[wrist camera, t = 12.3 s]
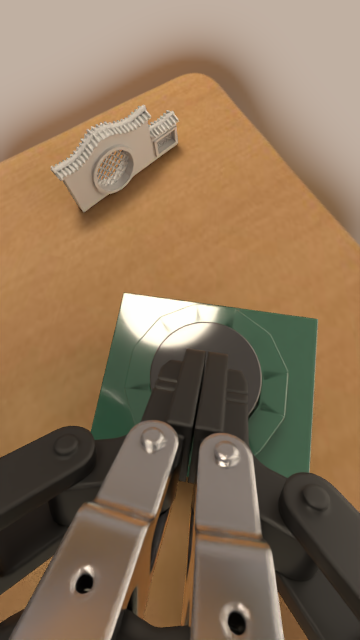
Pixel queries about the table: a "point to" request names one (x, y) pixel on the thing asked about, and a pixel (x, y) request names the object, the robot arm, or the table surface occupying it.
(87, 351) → the table surface
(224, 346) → the dark push button
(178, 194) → the table surface
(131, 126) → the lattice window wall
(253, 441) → the dispenser
